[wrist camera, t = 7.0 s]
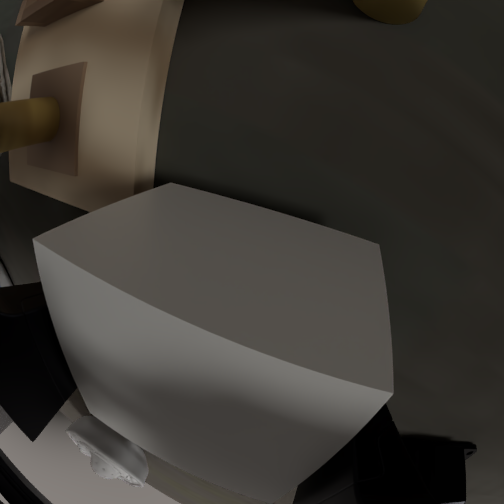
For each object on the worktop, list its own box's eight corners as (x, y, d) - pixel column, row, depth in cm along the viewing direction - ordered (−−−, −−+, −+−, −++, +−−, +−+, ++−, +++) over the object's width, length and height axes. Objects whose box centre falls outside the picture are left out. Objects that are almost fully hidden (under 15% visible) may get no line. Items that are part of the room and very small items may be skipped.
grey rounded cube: (309, 390, 10) (271, 504, 6) (165, 332, 12) (90, 412, 7) (379, 244, 7) (393, 393, 3) (170, 182, 9) (32, 238, 4)
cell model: (76, 399, 27) (44, 431, 21) (117, 403, 21) (75, 451, 15) (128, 450, 29) (103, 483, 23) (184, 465, 23) (154, 511, 17)
